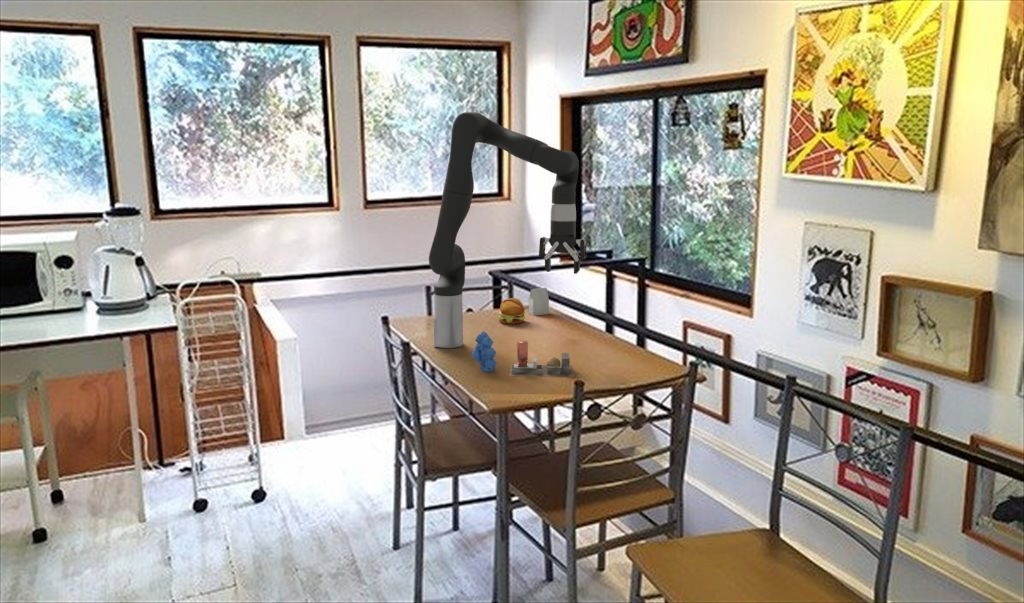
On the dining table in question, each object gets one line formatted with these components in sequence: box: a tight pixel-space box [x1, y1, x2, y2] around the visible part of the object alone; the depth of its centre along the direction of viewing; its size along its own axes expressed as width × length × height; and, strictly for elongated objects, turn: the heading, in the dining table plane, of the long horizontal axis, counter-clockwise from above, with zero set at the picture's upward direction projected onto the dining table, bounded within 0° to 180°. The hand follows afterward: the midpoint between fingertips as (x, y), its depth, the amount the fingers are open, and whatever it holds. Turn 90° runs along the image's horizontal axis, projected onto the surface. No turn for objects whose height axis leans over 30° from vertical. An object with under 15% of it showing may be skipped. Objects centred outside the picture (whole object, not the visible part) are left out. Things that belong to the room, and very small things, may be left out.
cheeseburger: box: [498, 297, 526, 325], centre depth 281 cm, size 10×11×10 cm
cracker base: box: [509, 352, 575, 378], centre depth 217 cm, size 18×11×6 cm, turn 89°
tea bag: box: [528, 287, 550, 317], centre depth 294 cm, size 4×7×10 cm, turn 116°
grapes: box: [471, 331, 497, 373], centre depth 218 cm, size 12×7×12 cm, turn 24°
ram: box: [513, 340, 538, 370], centre depth 216 cm, size 6×4×8 cm, turn 89°
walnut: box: [545, 356, 561, 366], centre depth 216 cm, size 4×4×4 cm
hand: (562, 272), depth 230 cm, fingers open, 8 cm apart
